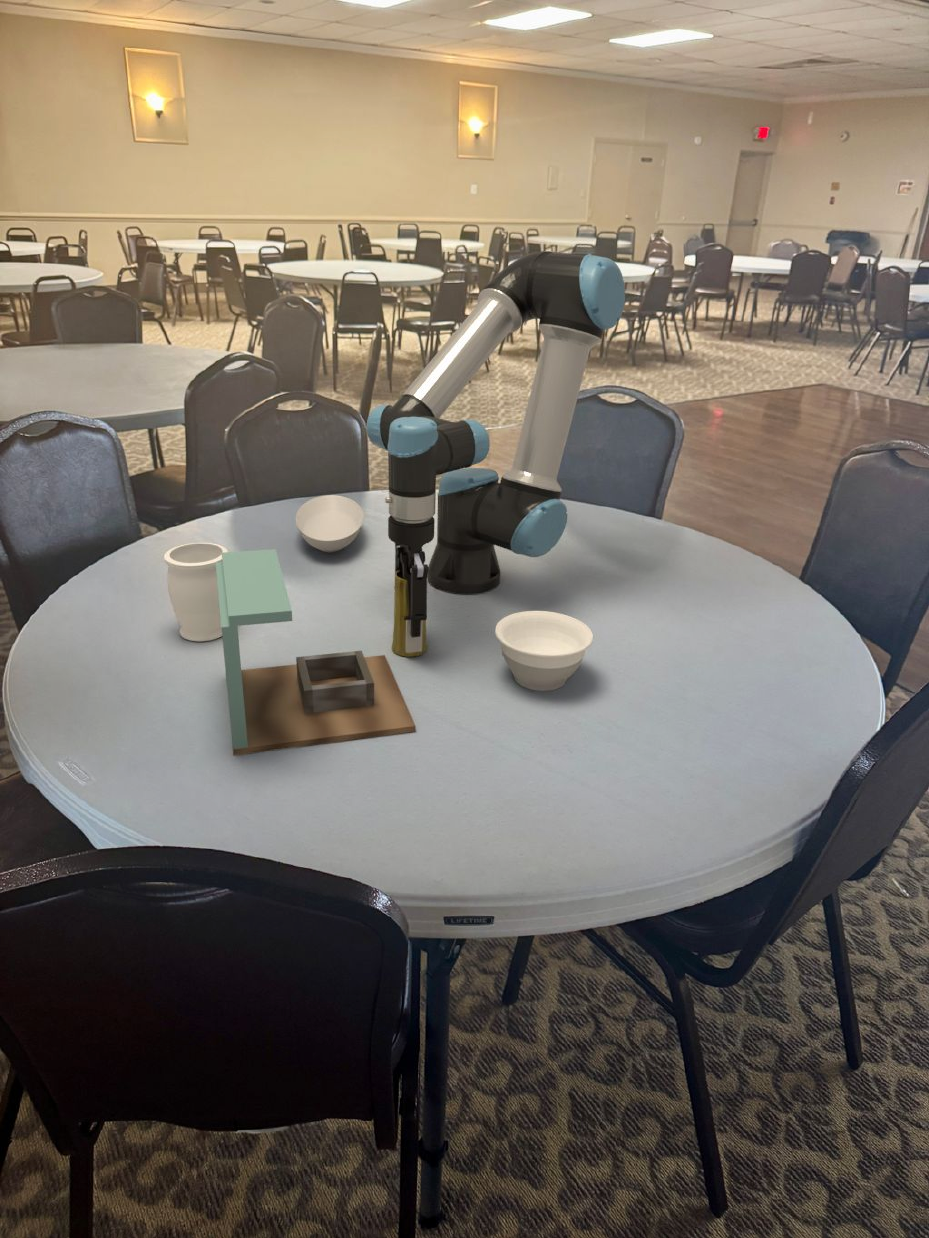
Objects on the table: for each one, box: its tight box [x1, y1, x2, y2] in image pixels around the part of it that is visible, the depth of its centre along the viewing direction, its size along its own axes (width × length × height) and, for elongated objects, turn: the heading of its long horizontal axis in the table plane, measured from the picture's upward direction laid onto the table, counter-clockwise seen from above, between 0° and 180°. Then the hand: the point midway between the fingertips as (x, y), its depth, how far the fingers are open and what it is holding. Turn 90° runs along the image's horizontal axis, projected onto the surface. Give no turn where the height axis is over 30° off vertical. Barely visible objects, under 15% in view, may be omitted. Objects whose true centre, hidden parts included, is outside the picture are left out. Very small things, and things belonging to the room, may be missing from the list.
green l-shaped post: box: [216, 548, 293, 750], centre depth 123 cm, size 9×22×20 cm, turn 17°
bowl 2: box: [494, 610, 594, 692], centre depth 138 cm, size 16×16×8 cm
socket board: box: [232, 650, 416, 756], centre depth 129 cm, size 26×22×5 cm
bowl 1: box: [295, 494, 365, 553], centre depth 190 cm, size 30×15×6 cm, turn 6°
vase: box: [391, 570, 428, 658], centre depth 144 cm, size 6×6×14 cm
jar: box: [163, 542, 229, 642], centre depth 146 cm, size 11×10×15 cm
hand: (409, 642), depth 146 cm, fingers closed on vase, 6 cm apart
